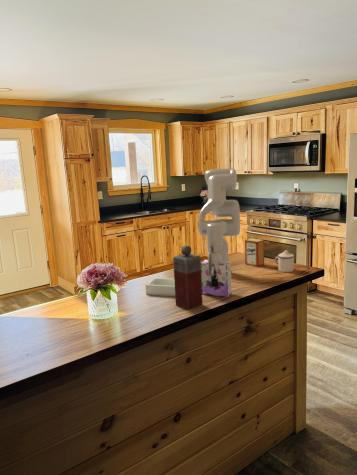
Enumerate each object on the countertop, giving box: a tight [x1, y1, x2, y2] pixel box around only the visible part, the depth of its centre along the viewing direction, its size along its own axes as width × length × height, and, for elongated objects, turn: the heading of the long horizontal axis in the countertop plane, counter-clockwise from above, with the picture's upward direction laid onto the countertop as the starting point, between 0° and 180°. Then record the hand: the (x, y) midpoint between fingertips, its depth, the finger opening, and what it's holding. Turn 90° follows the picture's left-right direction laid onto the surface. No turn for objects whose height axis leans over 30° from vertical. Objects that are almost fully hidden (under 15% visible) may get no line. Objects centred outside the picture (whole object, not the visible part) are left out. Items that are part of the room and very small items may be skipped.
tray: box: [145, 277, 175, 297], centre depth 194 cm, size 12×20×5 cm, turn 71°
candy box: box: [201, 259, 233, 298], centre depth 185 cm, size 14×6×16 cm, turn 62°
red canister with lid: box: [172, 245, 203, 311], centre depth 172 cm, size 9×11×28 cm
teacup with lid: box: [274, 250, 295, 273], centre depth 220 cm, size 12×9×12 cm
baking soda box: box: [244, 237, 265, 268], centre depth 234 cm, size 10×6×16 cm
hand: (216, 283), depth 186 cm, fingers closed on candy box, 6 cm apart
